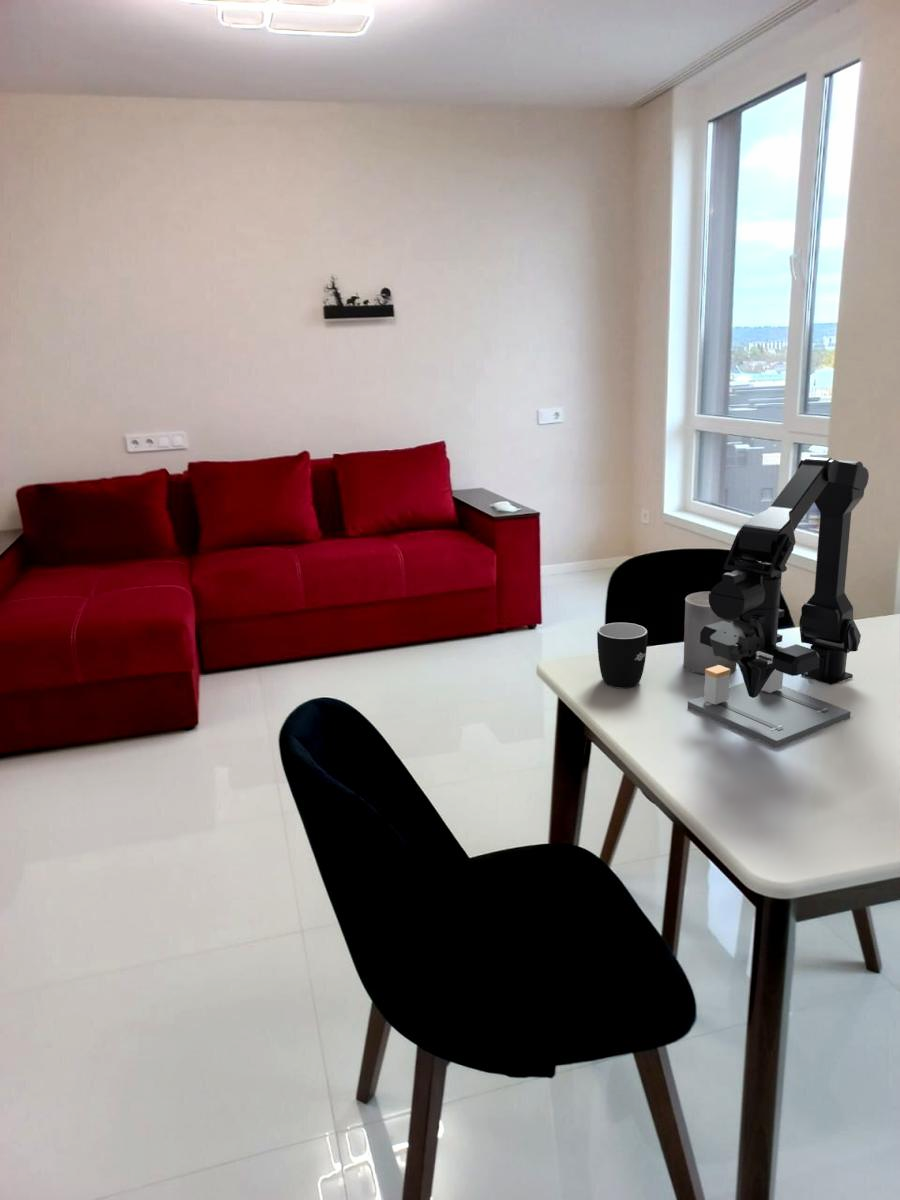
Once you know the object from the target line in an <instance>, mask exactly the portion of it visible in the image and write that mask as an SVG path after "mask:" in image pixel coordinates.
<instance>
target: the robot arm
mask: <svg viewBox="0 0 900 1200" xmlns="http://www.w3.org/2000/svg"><path fill="white" fill-rule="evenodd" d="M869 477H870V476H869V470H868V468H866V467H865V466H864V465H863V462H862V461H859V460H858V461H857V460H844V459H842V460H841V459H833V458H832V457H822V456H806V457H802V459H800V462H799V463H798V466H797V470H796V471H795V473H794V474H793V476H792V477H791V478H790V479H789V481H788V482H787V484H786V485H785V486H784V488H783V489H782V490H781V491H780V493H779V494H778V496H776V499H774V501H773V502H772V504H771V505H770V506H769V507H768V508H767V510H763V511H761V512H758V513H755V514H754V515H753V516H751V517H750V518H749V519H748V520H747V521H746V522H745V523H744V524H742V526H741V527H740V529H739V530H738V531H737V533H736V535H735V536H734V537H735V538H734V540H733V542H732V545H731V547H730V550H729V553H728V555H727V557H726V560H725V562H724V565H723V569H724V570H729V571H731V572H728V571H727V572H725V573H722V576H721V577H722V579H721V580H722V581H720V582H717V583H716V584H715V585H713V586H712V588H711V589H710V591H711V592H710V594H709V604H710V607H711V609H712V611H713V612H714V613H715V614H716V615H717V616H718V617H720V618H722V619H724V620H732V621H731V623H728V622H725V621H720V622H717V623H713V624H710V625H706V626H704V627H703V628H702V630H701V631H700V643H702V644H705V645H708V646H710V647H712V648H713V653H714V655H715V656H718V657H719V656H720V657H723V658H726V659H727V660H728V661H731V662H736V665H738V667H739V670H740V673H741V675H742V679H743V683H744V682H745V685H746V688H747V691H748V695H749V696H750V697H752V698H755V697H757V696H758V694H759V693H760V691H761V690H762V688H763V686H764V685H765V683H766V681H767V680H768V678H769V677H770V675H771V674H772V672H773V671H774V670H775V669H776V670H777V671H780V672H783V674H785V675H789V676H794V677H795V676H796V677H797V676H799V675H801V676H804V677H807V678H808V679H809V678H810V679H812V680H815V681H818V682H820V683H824V684H827V685H828V686H829V685H830V686H834V685H835V684H838V683H841V682H844V681H846V680H849V679H852V678H853V677H854V675H853V673H850V672H847V671H846V668H847V667H846V666H847V659H848V658H847V656H848V654H849V653H850V652H852V653H853V652H858V650H859V649H858V648H859V646H860V643H861V637H862V636H861V635H862V634H861V633H860V631H859V628H858V626H857V624H856V622H855V620H854V607H853V605H852V603H851V601H850V600H849V598H848V596H847V595H846V592H845V589H846V579H847V578H846V577H847V567H848V565H847V564H848V556H849V553H848V552H849V544H850V543H849V542H850V531H851V522H852V521H851V519H852V512H853V510H854V509H855V507H856V506H858V504H859V503H860V502H861V500H862V499H863V497H864V495H865V489H866V487H867V485H868V482H869V479H870V478H869ZM814 504H815V506H816V508H817V509H818V511H819V524H818V525H819V527H818V541H817V551H816V553H817V554H816V566H815V579H814V589H813V590H814V591H813V594H812V596H811V597H810V598H808V600H807V602H806V603H803V605H802V606H801V615H800V617H799V622H798V625H799V633H800V634H799V635H800V642H801V643H803V644H809V645H810V648H809V647H806V646H803V645H801V644H796V643H795V644H791V645H790V646H787V647H785V646H784V647H783V646H780V645H779V643H782V642H783V634H779V633H778V627H779V619H781V618H784V617H785V610H784V609H781V608H780V604H781V603H780V602H781V589H782V578H783V577H782V576H783V575H782V574H783V573H785V572H786V571H787V570H788V566H786V564H787V562H788V560H789V559H790V556H791V555H792V553H793V551H794V548H795V545H796V536H795V530H797V529H796V528H797V527H798V525H799V524H800V523H801V521H802V520H803V519H804V517H805V516H806V514H807V513H808V512H809V510H810V509H811V508H812V506H813V505H814ZM741 558H742V559H741ZM743 559H744V560H743ZM748 560H749V561H748Z"/></svg>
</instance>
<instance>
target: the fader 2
mask: <svg viewBox="0 0 900 1200" xmlns="http://www.w3.org/2000/svg"><path fill="white" fill-rule="evenodd" d="M783 678H784V673H783V672H780V671H777V670H776V669H775V670H774V671H773V672H772V674H771V675H770V677H769V678H768V680H767V681H766V683H765V685H764V686H763V688H762V690H763V691H766V692H768V693H771V692H774V691H776V690H779V689H782V686H783Z"/></svg>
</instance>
